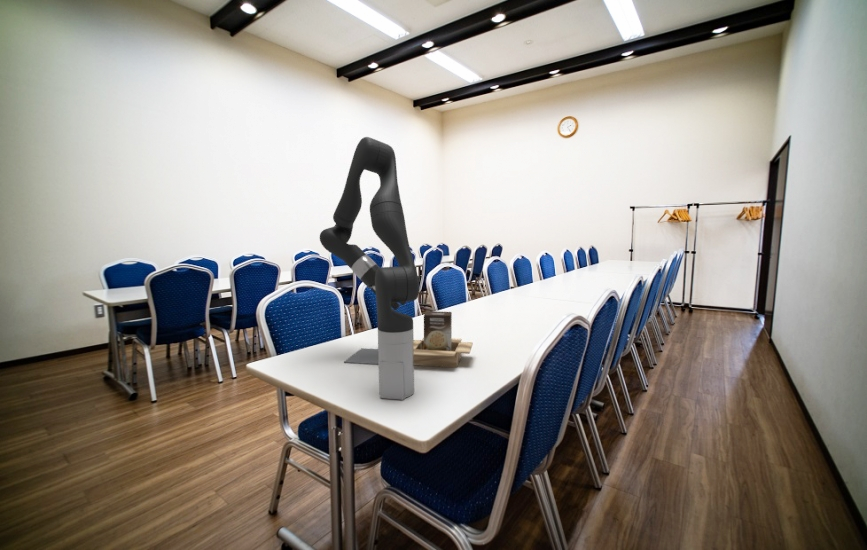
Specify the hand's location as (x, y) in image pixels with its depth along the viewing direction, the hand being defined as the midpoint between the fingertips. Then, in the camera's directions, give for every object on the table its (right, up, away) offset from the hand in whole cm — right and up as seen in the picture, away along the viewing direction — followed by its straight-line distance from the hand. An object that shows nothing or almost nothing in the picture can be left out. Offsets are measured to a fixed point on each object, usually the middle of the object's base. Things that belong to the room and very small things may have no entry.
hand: (401, 305), depth 123 cm
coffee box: (+12, -18, -1) cm, 22 cm away
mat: (-10, -18, +4) cm, 21 cm away
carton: (+12, -18, -1) cm, 22 cm away
